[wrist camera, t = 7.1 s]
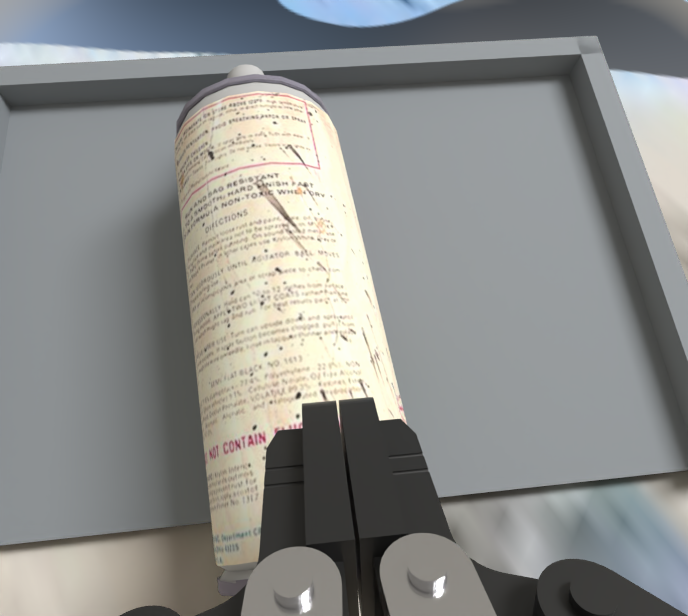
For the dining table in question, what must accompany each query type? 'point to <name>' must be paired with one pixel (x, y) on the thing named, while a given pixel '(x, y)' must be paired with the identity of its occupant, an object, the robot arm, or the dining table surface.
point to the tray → (384, 262)
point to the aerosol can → (270, 287)
